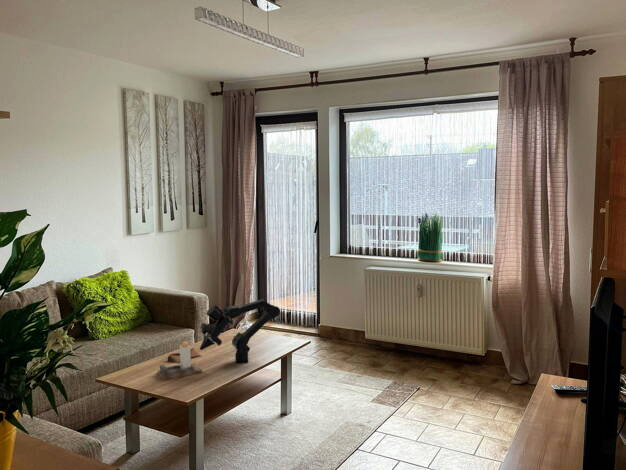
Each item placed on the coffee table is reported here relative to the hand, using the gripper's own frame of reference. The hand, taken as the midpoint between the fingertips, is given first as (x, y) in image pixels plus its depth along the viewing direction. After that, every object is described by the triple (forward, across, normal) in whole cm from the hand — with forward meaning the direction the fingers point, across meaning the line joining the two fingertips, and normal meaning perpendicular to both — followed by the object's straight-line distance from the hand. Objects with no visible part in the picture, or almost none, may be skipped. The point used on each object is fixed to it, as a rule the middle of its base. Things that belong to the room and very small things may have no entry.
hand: (200, 349), depth 285 cm
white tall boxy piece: (+12, 0, +1) cm, 12 cm away
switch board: (+15, 0, 0) cm, 15 cm away
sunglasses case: (+9, -22, +7) cm, 25 cm away
